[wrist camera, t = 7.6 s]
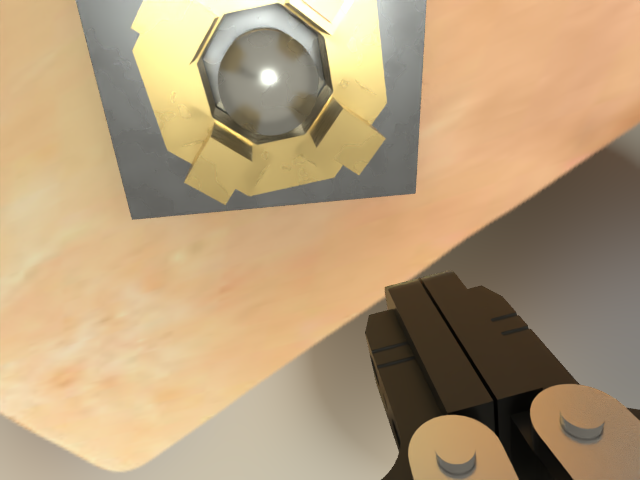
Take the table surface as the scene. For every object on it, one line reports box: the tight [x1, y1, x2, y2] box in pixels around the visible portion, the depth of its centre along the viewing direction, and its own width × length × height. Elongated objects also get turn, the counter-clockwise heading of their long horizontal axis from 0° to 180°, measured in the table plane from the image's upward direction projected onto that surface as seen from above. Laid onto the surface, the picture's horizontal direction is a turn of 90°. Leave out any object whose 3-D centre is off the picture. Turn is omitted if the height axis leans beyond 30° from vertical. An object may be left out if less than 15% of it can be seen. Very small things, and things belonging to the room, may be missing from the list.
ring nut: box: [131, 0, 387, 205], centre depth 25 cm, size 13×13×7 cm
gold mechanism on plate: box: [76, 0, 426, 220], centre depth 26 cm, size 20×18×8 cm
